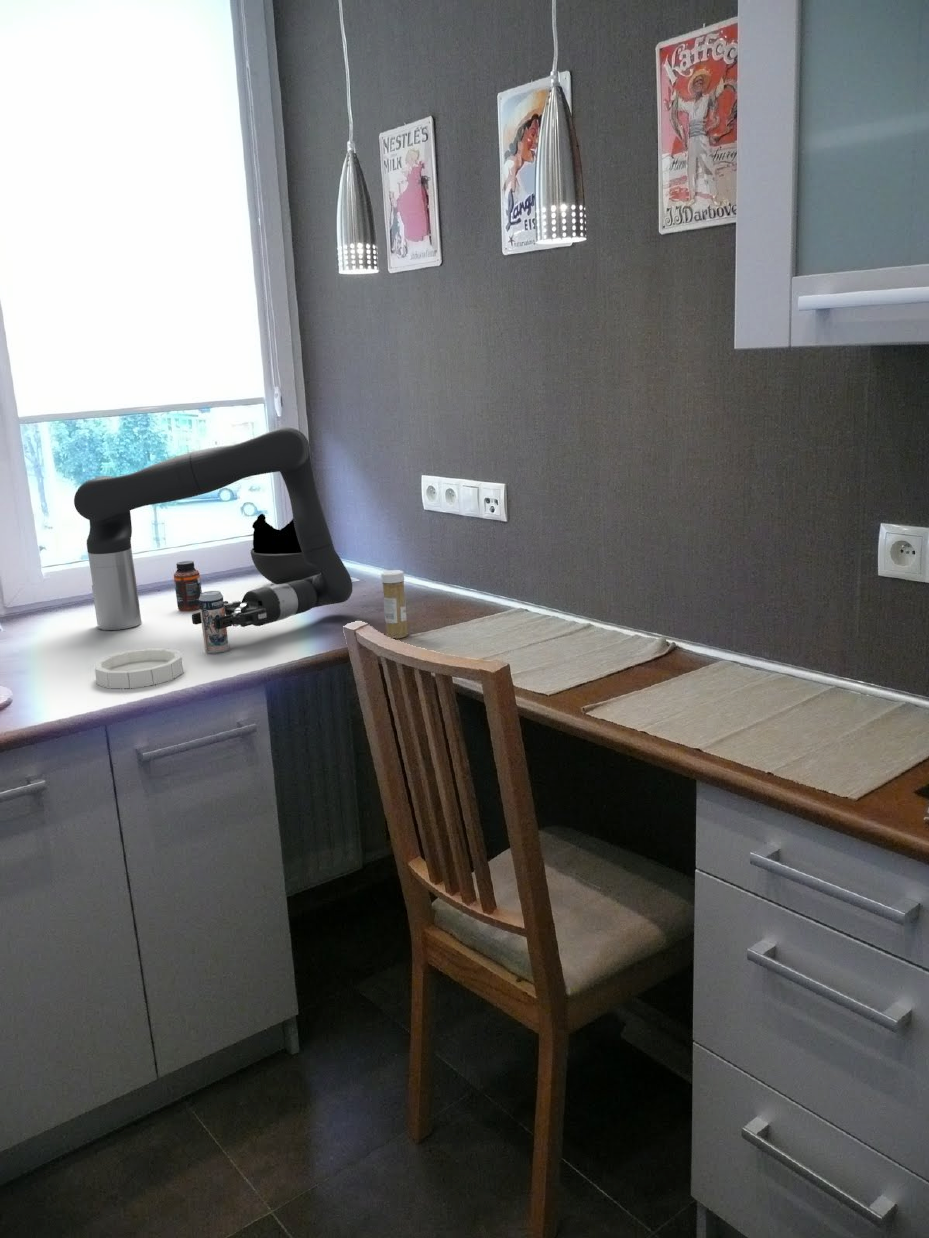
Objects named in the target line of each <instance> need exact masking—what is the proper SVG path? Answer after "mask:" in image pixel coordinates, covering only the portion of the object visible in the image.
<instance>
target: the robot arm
mask: <svg viewBox="0 0 929 1238" xmlns="http://www.w3.org/2000/svg"><path fill="white" fill-rule="evenodd" d="M312 465H313V464H312V458H311V449H310V443H309V440H308V439H307V437H306V435H305V434H304V433H303V432H302V431H300V430H298V429H296V428H294V427H277V428H274V429H272V430H270V431H268V432H265V433H263V434H261V435H258V436H256V437H253V438H250V439H247V440H245V441H241V442H239V443H235V444H234V443H233V444H231V445H230V444H229V445H222V446H214V447H210V448H204V449H198V450H195V451H191V452H187V453H183V454H180V455H175V456H173V457H171V458H170V457H169V458H167V459H165V460H161V461H160V462H157V463H154V464H152V465H149V466H147V467H144V468H142V469H140V470H137V471H135V472H132V473H128V474H124V475H118V476H110V475H102V476H97V477H95V478H92V479H89V480H86V481H84V482H83V483H82V484H81V485H80V486H79V487H78V489H77V490H76V492H75V494H74V496H73V497H74V499H73V504H74V507H75V510H76V512H77V513H78V514H79V515H80V516H81V517H83V518H84V519H86V520H88V521H89V532H88V536H87V538H86V549H87V556H88V562H89V568H90V569H89V570H90V576H91V583H92V585H91V590H92V596H93V597H92V598H93V601H94V602H93V603H94V611H95V618H96V624H97V626H98V629H100V630H104V631H119V630H125V629H130V628H134V627H137V626H139V625H141V624H142V617H141V607H140V599H139V592H138V585H137V579H136V571H135V564H134V558H133V550H132V549H133V548H132V541H131V540H132V534H133V526H132V516H131V511H132V510H135V509H138V508H141V507H142V508H143V507H145V506H151V505H152V506H153V505H157V504H158V505H159V504H163V503H165V504H166V503H170V502H175V501H181V500H184V499H185V500H186V499H190V498H194V497H197V496H201V495H205V494H208V493H211V492H214V491H218V490H220V489H223V488H225V487H227V486H229V485H232V484H234V483H236V482H238V481H240V480H243V479H246V478H249V477H253V476H259V475H265V474H270V473H278V472H279V473H280V475H281V478H282V479H283V482H284V484H285V486H286V490H287V493H288V497H289V500H290V506H291V513H292V519H293V520H294V526H295V531H296V535H297V538H298V541H299V544H300V548H301V551H302V554H303V557H304V560H305V561H306V563H307V564H310V565H314V566H316V567H317V568H318V570H319V571H320V573H321V574H319V575H315V576H311V577H308V578H305V579H303V580H297V581H292V582H288V583H284V584H272V585H267V586H264V587H261V588H255V589H252V590H248V591H247V592H245V594H244V596H243V597H242V600H237V601H236V600H235V601H232V602H229V601H227V600H225V601H224V600H223V601H224V610H225V616H222V617H218V618H215V619H214V628H215V629H218V630H219V629H222V628H226V627H227V628H228V627H235V628H236V627H238V626H240V627H242V628H246V627H248V626H249V627H250V626H254V627H260V626H265V625H268V624H272V623H275V622H278V621H279V622H280V621H282V620H285V619H288V618H289V617H292V616H295V615H299V614H302V613H306V612H308V611H310V610H311V609H315V608H319V607H323V606H331V605H336V604H342V603H345V602H346V601H348V600H349V599H350V597H351V596H352V593H353V580H352V577H351V575H350V573H349V571H348V569H347V568H346V565H345V564H344V563H343V561H342V559H341V557H340V556H339V554H338V553H337V551H336V550H335V546H334V542H333V539H332V536H331V533H330V529H329V526H328V524H327V519H326V517H325V514H324V511H323V508H322V505H321V502H320V501H321V500H320V499H319V494H318V491H317V487H316V482H315V478H314V473H313V466H312ZM191 622H192V624H193V625H202V622H201V614H200V611H198V612H194V613H192V614H191Z"/></svg>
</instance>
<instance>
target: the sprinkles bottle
mask: <svg viewBox="0 0 929 1238" xmlns="http://www.w3.org/2000/svg"><path fill="white" fill-rule="evenodd" d="M380 575H381V576H380V577H381V578H380V579H381V584H382V591H383V592H382V593H383V609H384V619H385V620H384V621H385V628H386V635H387V636H389V637H394V638H396V640H397V639H402V638H406V637H407V636H409V635H408V634H409V632H408V622H407V609H406V608H407V607H406V597H405V585H404V582H405V573H404V571H403V570H399V569H392V570H385V571H383V572H381V574H380ZM387 636H386V637H387ZM394 638H393V639H394Z"/></svg>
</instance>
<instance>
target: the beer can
mask: <svg viewBox="0 0 929 1238" xmlns="http://www.w3.org/2000/svg"><path fill="white" fill-rule="evenodd" d="M199 606H200V609H199V612H200V614H201V622H202V623H201V630H202V638H203V645H204V651H205V652H206V653H208V654H211V655H216V654H217V655H218V654H222V653H225V652H227V651H228V650H229V648H230V645H229V637H228V636H229V635H228V630H227V628H228V627H226V628H222V629H219V630H218V629H215V628H214V619H215V618H218V617H222V616H225V610H224V595H223V594H222V593H221V591H220V590H210V591H209V590H208V591H204V592H202V593H201V594H200V598H199Z"/></svg>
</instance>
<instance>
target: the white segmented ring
mask: <svg viewBox="0 0 929 1238" xmlns="http://www.w3.org/2000/svg"><path fill="white" fill-rule="evenodd" d="M94 672H95V679H96V685H97V686H101V687H103V688H107V689H111V688H120V690H121V688H122V689H123V690H125V689H124V688H130V689H131V688H132V689H137V688H144V686H146V687H151V686H150V685H153V686H156V685H160V684H163V683H165V681H166V682H169V681H173V680H175V679H176V678H178V677H179V676H180V674H181V675H182V674H184V667H183V658H182V655H181V651H178V650H174V649H171V648H143V649H142V648H141V649H134V650H127V651H123V652H119V653H115V654H112V655H108V656H105V657H104V658H102V659H100V660H98V661H96V662H94ZM174 678H175V679H174ZM155 684H156V685H155Z"/></svg>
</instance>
